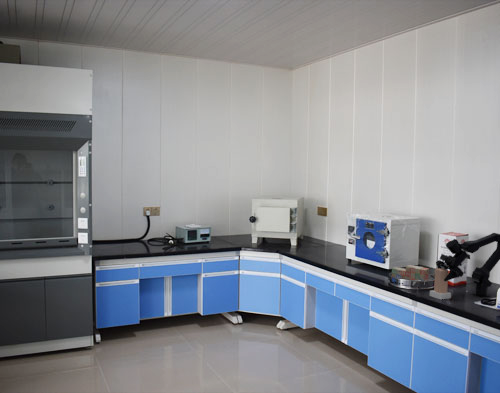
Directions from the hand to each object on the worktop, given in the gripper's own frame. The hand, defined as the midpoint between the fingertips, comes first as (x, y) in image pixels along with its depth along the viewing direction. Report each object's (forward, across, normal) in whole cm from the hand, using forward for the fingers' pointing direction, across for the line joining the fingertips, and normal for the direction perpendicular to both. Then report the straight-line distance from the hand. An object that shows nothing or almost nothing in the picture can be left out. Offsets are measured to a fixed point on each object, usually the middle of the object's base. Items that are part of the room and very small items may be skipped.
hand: (439, 278), depth 257 cm
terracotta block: (+5, 0, +6) cm, 8 cm away
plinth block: (+7, 0, +8) cm, 11 cm away
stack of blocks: (+10, -26, +6) cm, 28 cm away
